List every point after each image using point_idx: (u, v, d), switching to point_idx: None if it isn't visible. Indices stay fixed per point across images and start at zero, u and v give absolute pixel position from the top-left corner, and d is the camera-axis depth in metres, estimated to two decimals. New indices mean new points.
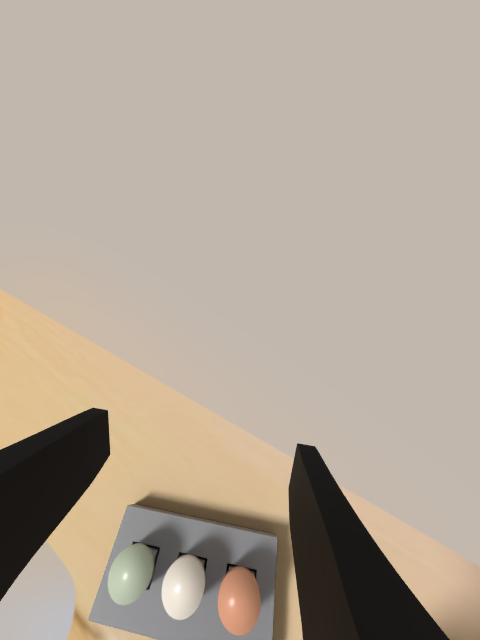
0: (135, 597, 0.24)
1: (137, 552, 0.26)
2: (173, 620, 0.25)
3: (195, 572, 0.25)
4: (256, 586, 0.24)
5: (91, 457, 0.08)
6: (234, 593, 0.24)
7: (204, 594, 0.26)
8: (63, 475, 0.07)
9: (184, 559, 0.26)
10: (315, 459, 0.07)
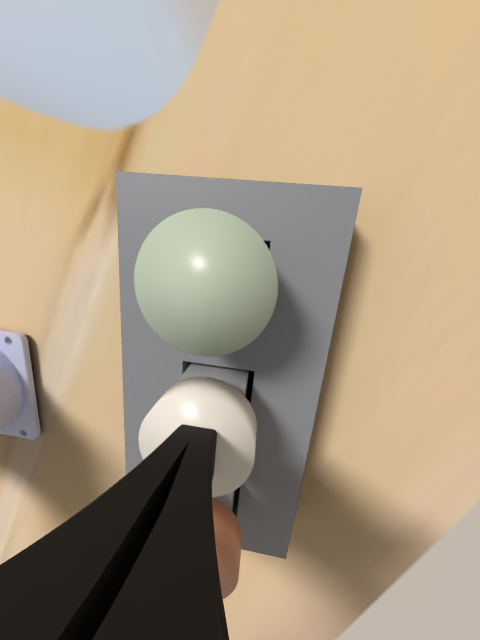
0: (156, 325, 0.07)
1: (260, 301, 0.07)
2: (150, 375, 0.12)
3: (226, 478, 0.09)
4: None
5: None
6: None
7: None
8: None
9: (251, 450, 0.08)
10: (204, 439, 0.07)
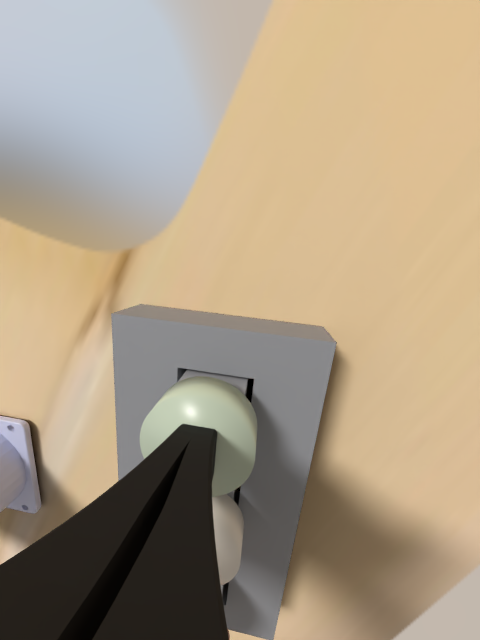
0: None
1: (241, 463, 0.08)
2: None
3: None
4: None
5: None
6: None
7: None
8: None
9: (237, 556, 0.10)
10: (204, 439, 0.07)
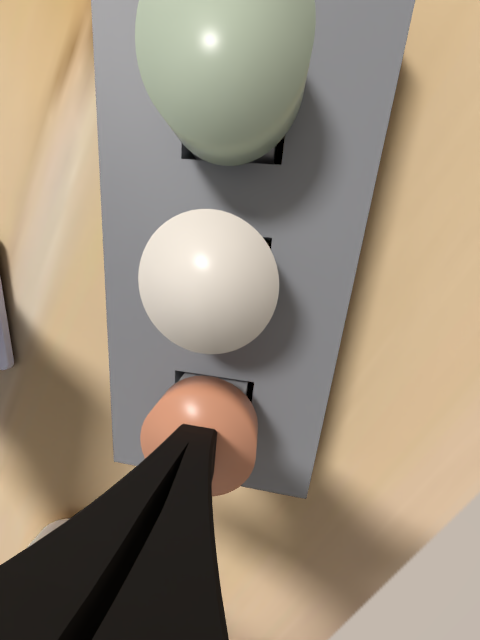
0: (162, 104, 0.06)
1: (292, 49, 0.05)
2: (138, 253, 0.09)
3: (243, 324, 0.07)
4: (227, 489, 0.09)
5: None
6: None
7: None
8: None
9: (275, 280, 0.07)
10: (204, 439, 0.07)
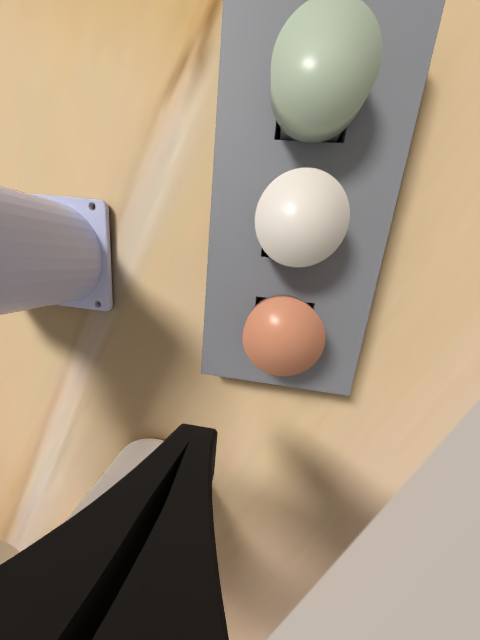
0: (283, 102, 0.10)
1: (367, 70, 0.09)
2: (236, 207, 0.13)
3: (324, 244, 0.11)
4: (302, 369, 0.13)
5: None
6: (292, 330, 0.12)
7: (271, 263, 0.14)
8: None
9: (347, 214, 0.11)
10: (204, 439, 0.07)
